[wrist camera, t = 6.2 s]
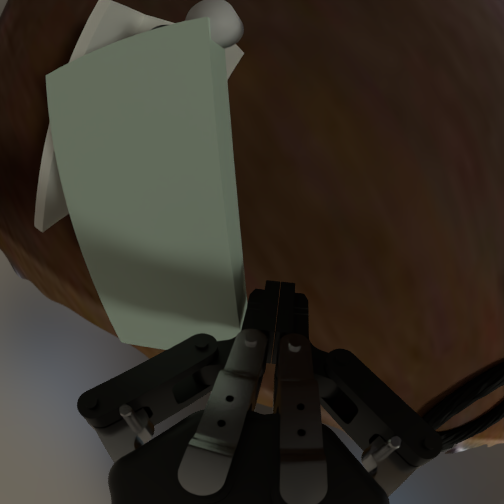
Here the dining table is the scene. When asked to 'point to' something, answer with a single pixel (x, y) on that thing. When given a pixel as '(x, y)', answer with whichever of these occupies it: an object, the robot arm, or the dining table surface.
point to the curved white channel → (92, 38)
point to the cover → (155, 177)
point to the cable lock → (463, 399)
